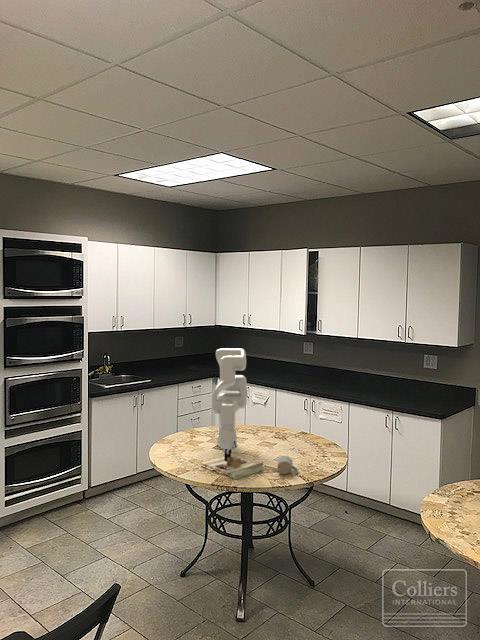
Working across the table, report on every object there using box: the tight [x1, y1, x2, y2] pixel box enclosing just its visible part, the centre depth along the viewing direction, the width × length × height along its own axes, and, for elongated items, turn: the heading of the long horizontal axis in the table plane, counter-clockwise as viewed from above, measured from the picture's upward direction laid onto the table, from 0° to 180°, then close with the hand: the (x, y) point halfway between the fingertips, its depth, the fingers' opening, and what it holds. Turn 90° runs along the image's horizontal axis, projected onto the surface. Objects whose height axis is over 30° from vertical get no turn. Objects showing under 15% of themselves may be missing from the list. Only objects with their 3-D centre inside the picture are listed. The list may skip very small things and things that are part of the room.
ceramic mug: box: [276, 455, 299, 475], centre depth 272 cm, size 11×8×8 cm
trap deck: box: [200, 455, 264, 479], centre depth 278 cm, size 26×20×4 cm
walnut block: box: [227, 455, 242, 467], centre depth 277 cm, size 5×5×4 cm
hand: (227, 460), depth 280 cm, fingers closed
